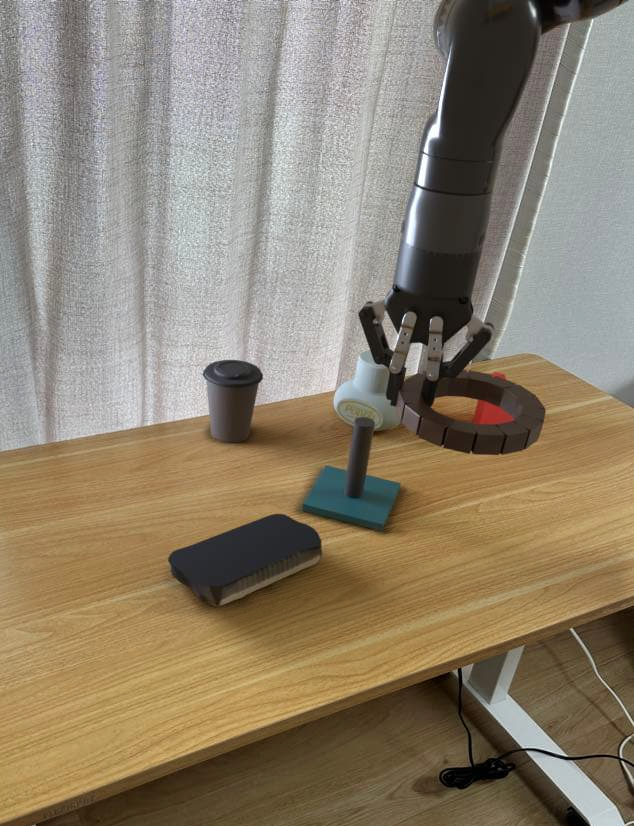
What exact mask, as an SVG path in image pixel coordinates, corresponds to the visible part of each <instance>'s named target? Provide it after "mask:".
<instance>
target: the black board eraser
mask: <svg viewBox="0 0 634 826" xmlns="http://www.w3.org/2000/svg"><path fill="white" fill-rule="evenodd" d="M322 555H323V550H322V538H321V537H320V535H319V533H318V531H317V530H316V529H315V528H314V527H312V526H310V525H309V524H306V523H303V522H300V521H297V520H295V519H293V518H292V517H290V515H289V516H288V515H287V514H283V513H273V514H270V515H266V516H263V517H262V518H259V519H256V520H253V521H251V522H248V523H245V524H241V525H240V526H238V527H234V528H232V529H230V530H227V531H225V532H221V533H219V534H217V535H214V536H212V537H209V538H207V539H204V540H201V541H199V542H196V543H194V544H191V545H188V546H185V547H182V548H177V549H175V550H174V551H172V552H171V553H170V554H169V556H168V559H167V562H168V563H169V565H170V574H171V575H172V577H173V578H174V579H175V580H177V581H178V582H179V583H180V584H183V585H184V586H186V587H188V588H189V589H190V590H192V592H193V593H194V594H195V595H196V596H197V597H198V598H199V600H200V601H201V602H202V603H205V604H207V605H210V606H215V607H221V606H224V605H226V604H229V603H231V602H233V601H237V600H239V599H243V598H244V597H245V596H248V595H250V594H252V593H253V592H256V591H257V590H260V589H262V588H264V587H268V586H269V585H272V584H274V583H276V582H278V581H280V580H282V579H285V578H287V577H289V576H292V575H294V574H297V573H298V572H299V571H302V570H304V569H307V568H309V567H311V566H314V565H315V564H317V563H318V562H319V561H320V558H321V557H322Z"/></svg>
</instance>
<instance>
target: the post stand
mask: <svg viewBox="0 0 634 826" xmlns="http://www.w3.org/2000/svg"><path fill="white" fill-rule="evenodd" d="M374 426H375V422H374V420H372V419H370V418H367V417H359V418H356V419H355V420H354V427H353V426H352V434H351V440H350V447H349V452H348V459H347V465H346V469H344V468H340V467H335V466H331V465H327V464H326V465H325V466H324V467H323V469H322V470H321V471H320V473H319V476H318V477H317V479H316V481H315V482H314V484H313V486H312V488H311V489H310V491H309V492H308V494H307V496H306V498H305V499H304V501H303V503H302V506H301V511H302V512H306V513H310V514H314V515H318V516H322V517H326V518H330V519H333V520H334V519H335V520H337V521H341V522H344V523H345V522H346V523H349V524H353V525H357V526H361V527H365V528H369V529H372V530H377V531H380V532H382V531H383V530H384V528H385V525H386V523H387V521H388V519H389V515H390V513H391V512H392V508H393V506H394V505H395V502H396V499H397V497H398V494H399V492H400V490H401V485H402V484H401V482H398V481H394V480H390V479H385V478H381V477H377V476H373V475H368V474H367V473H368V472H367V471H368V466H369V460H370V454H371V450H372V443H373V437H374V432H375V431H374Z"/></svg>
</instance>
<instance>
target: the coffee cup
mask: <svg viewBox="0 0 634 826" xmlns="http://www.w3.org/2000/svg"><path fill="white" fill-rule="evenodd" d="M202 377H203V379H204V380H205V381H206V393H207V394H206V395H207V403H208V404H207V405H208V412H209V413H208V415H209V423H210V424H209V425H210V426H209V427H210V434H211V436H212V437H213V438H214V439H216V440H218V441H220V442H224V443H240V442H243V441H245V440H246V439H248V438H249V436H250V431H251V426H252V421H253V417H254V416H253V415H254V410H255V405H256V399H257V395H258V390H259V384H260V383H261V382H262V381H263V379H264V374H263V372H262V371H261V369H260V368H259V367H258V366H257V365H255V364H253V363H252V362H248V361H243V360H239V359H221V360H217V361H213V362H211V363H209V364H208V365H206V367H205V369H203V372H202Z"/></svg>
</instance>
